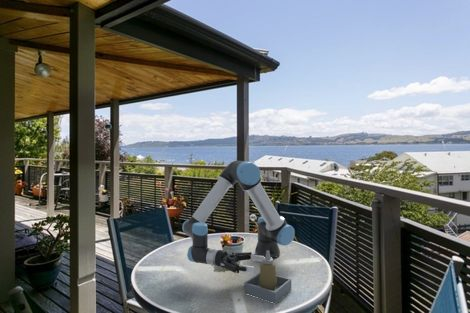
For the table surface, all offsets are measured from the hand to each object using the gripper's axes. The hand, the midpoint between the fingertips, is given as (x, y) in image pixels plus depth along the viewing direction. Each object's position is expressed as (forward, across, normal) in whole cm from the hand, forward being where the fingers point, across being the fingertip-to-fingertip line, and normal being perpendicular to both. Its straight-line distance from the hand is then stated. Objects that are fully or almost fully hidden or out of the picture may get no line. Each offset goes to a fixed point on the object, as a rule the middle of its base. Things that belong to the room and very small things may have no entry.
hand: (259, 264), depth 142 cm
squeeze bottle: (+4, 0, -12) cm, 12 cm away
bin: (+4, 0, -12) cm, 13 cm away
